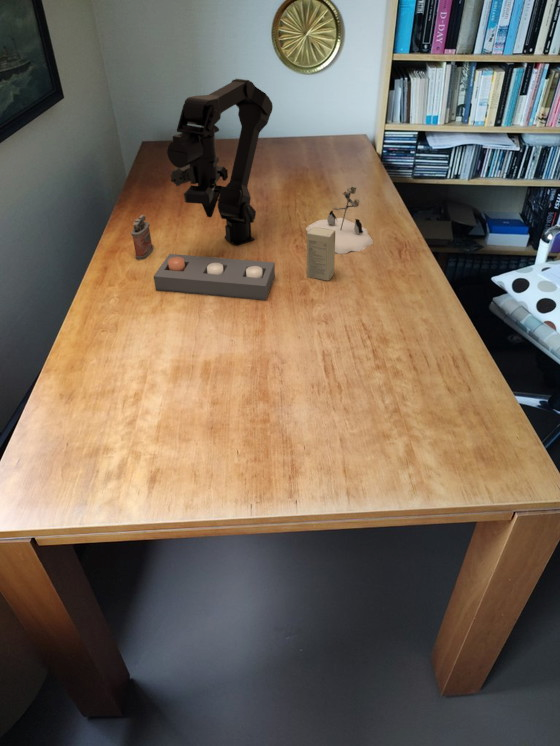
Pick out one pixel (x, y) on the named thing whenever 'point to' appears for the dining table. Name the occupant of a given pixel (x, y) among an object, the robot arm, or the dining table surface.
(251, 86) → the robot arm
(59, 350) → the dining table surface
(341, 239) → the figurine
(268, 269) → the button panel
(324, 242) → the skincare box
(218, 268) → the button
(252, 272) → the button
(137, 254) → the lighter
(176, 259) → the terracotta button
